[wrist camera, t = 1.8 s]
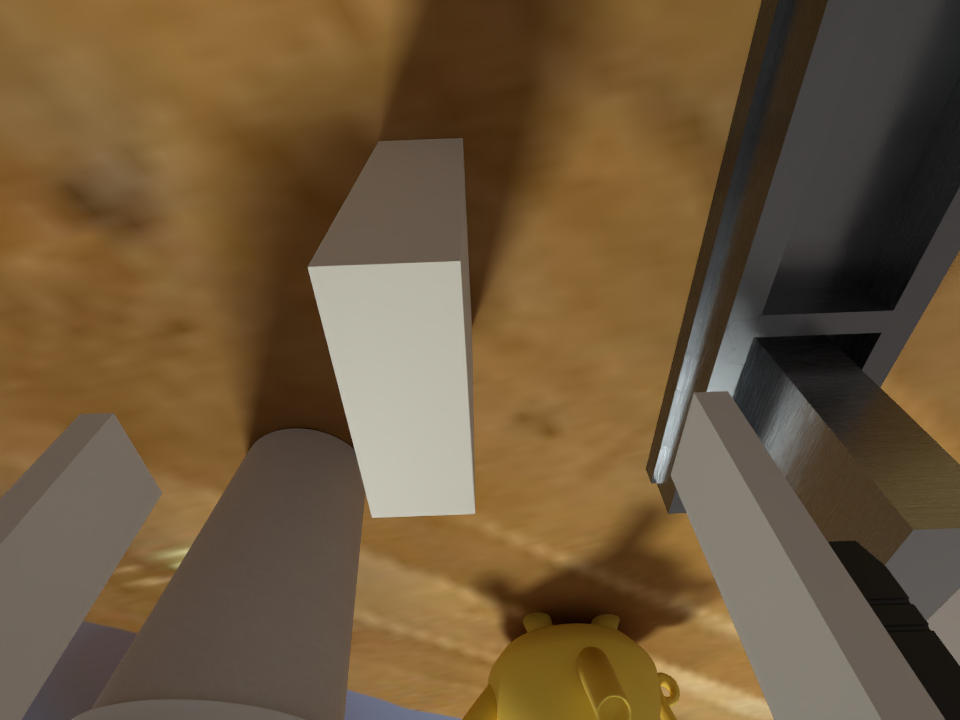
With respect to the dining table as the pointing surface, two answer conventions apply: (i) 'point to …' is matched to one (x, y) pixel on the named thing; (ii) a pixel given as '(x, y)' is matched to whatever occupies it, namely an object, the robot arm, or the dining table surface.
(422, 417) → the panel
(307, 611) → the coffee cup
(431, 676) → the dining table surface
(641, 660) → the teapot
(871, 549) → the rack
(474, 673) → the dining table surface
